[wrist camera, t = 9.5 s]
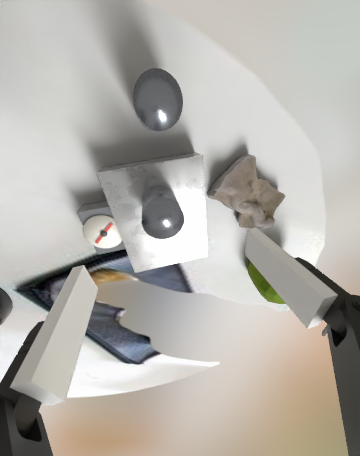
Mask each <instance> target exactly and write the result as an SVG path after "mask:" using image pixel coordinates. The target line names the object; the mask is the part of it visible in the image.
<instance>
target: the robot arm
mask: <svg viewBox="0 0 360 456" xmlns="http://www.w3.org/2000/svg"><path fill="white" fill-rule="evenodd" d="M245 255H246V256H247V258H248V259H249V260H250V261H251V262H252V264H253V265H254V266H255V267H256V268H257V270H258V271H259V272H260V273H261V274H262V275H263V277H264V278H265V279H266V280H267V281H268V283H269V284H270V285H271V286H272V287H273V289H274V290H275V291H276V292H277V293H278V295H279V296H280V297H281V298H282V299H283V300H284V302H285V303H286V304H287V305H288V306H289V308H290V309H291V310H292V311H293V312H294V314H295V315H296V316H297V317H298V318H299V319H300V321H301V322H302V323H303V324H304V325H305V327H306V328H307V329H308V328H311V327H315V326H318V325H320V323H321V321H322V320H324V321H325V322H326V323H327V326H326V327H325V329H324V330H323V332H322V335H323V336H325V335H326V333H328V338H329V344H330V350H331V355H332V362H333V367H334V373H335V379H336V384H337V390H338V395H339V402H340V407H341V413H342V419H343V425H344V430H345V436H346V442H347V447H348V453H349V456H360V296H357V295H351V294H349V293H347V292H346V291H345V290H344V289H342V288H341V287H339V286H338V285H337V284H336V283H335V282H333V281H332V280H331V279H329V278H328V277H327V276H325V275H324V274H322V272H320V271H319V270H318V269H316V268H315V267H314V266H313V265H311V264H310V263H309V262H307V261H305V260H303V259H301V258H299V257H298V258H293V257H292V256H290V255H289V254H288V253H287V252H286V251H284V250H283V249H282V248H281V247H280V246H278V245H277V244H276V243H275V242H273V241H272V240H271V239H270V238H269V237H267V236H266V235H265V234H264V233H263V232H261V231H260V230H259V229H258V228H257V227H255V228H250V229H248V231H247V239H246V248H245ZM97 291H98V288H97V286H96V285H95V283H94V281H93V280H92V278H91V277H90V275H89V273H88V272H87V270H86V268H85V267H84V265H83V266H78V267H74V268H73V269H72V271H71V272H70V274H69V276H68V278H67V280H66V282H65V284H64V286H63V288H62V289H61V291H60V293H59V295H58V297H57V299H56V301H55V303H54V305H53V306H52V308H51V310H50V312H49V314H48V316H47V318H46V320H45V321H42V322H38V323H37V325H36V326H35V327H34V328H33V329H32V330H31V331H30V332H29V334H28V336H27V338H26V339H25V341H24V343H23V346H21V348H20V350H19V352H18V355H16V357H15V358H14V360H13V362H12V364H11V365H10V367H9V369H8V371H7V372H6V374H5V376H4V378H3V379H2V381H1V383H0V456H53V453H52V450H51V447H50V444H49V440H48V437H47V433H46V430H45V426H44V423H43V420H42V416H41V414H40V413H39V412H38V411H39V408H40V405H41V403H43V404H45V405H47V406H51V405H54V404H57V403H61V402H64V401H65V400H66V397H67V393H68V390H69V386H70V383H71V380H72V376H73V373H74V369H75V366H76V363H77V359H78V356H79V352H80V349H81V346H82V342H83V339H84V335H85V332H86V329H87V325H88V322H89V318H90V315H91V312H92V308H93V305H94V301H95V298H96V294H97ZM11 311H12V301H11V299H10V298H9V296H8V295H7V294H6V293H5V292H4V291H3V290H1V289H0V325H1V324H2V323H3V322H4V321H5V319H6V318H7V317H8V315H9V314H10V313H11Z"/></svg>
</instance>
